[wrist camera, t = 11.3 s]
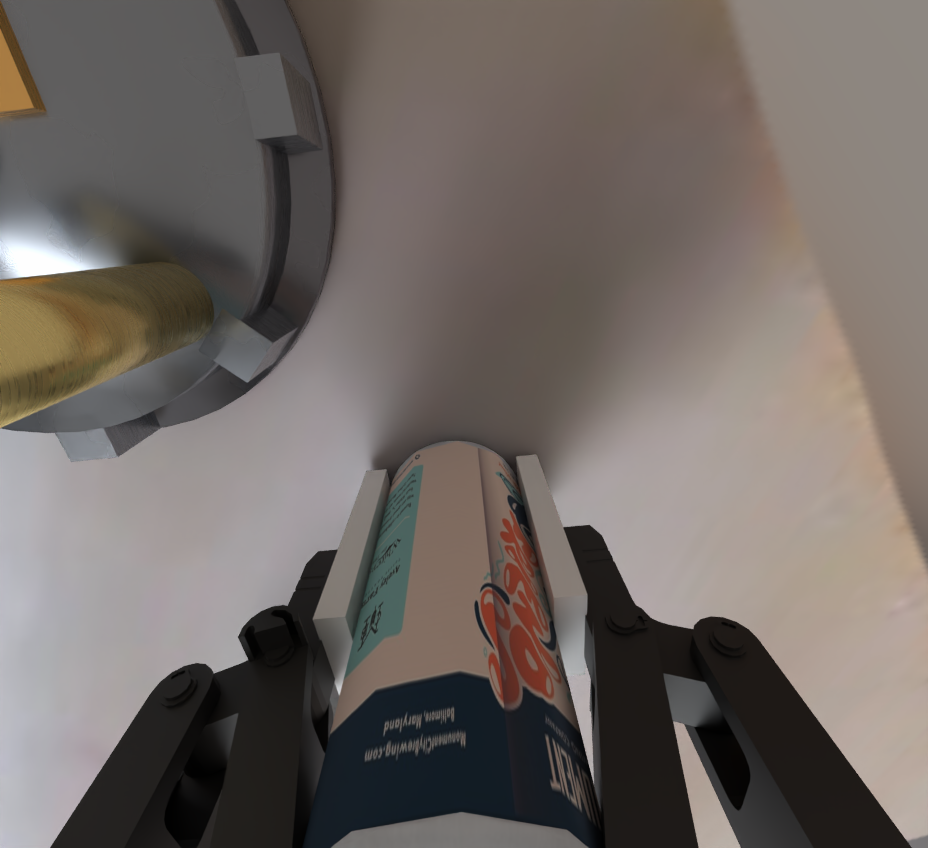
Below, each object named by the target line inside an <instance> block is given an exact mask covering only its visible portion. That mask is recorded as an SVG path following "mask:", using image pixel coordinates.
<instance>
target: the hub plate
mask: <svg viewBox="0 0 928 848" xmlns="http://www.w3.org/2000/svg"><path fill="white" fill-rule="evenodd" d="M235 1H236V3H237V5H238V7H239V9H240V11H241V13H242V15H243V17H244V19H245V21H246V23H247V25H248V27H249V29H250V31H251V33H252V36H253V38H254V41H255V43H256V46H257V48H258V51H259V53H260V55H263V54H271V53H280V54H281V55H282V56H283V57H284V58H285V59H286V60H287V61H288V62H289V63H290V64H291V65H292V66H293V67H294V68H295V69H296V70H297V71H298V72H299V73H300V74H301V75H302V76H303V77H304V78H305V79H306V80H307V81H308V82H309V83H310V86H311V91H312V96H313V101H314V106H315V111H316V116H317V121H318V126H319V131H320V136H321V141H322V146H323V150H320V151H311V152H302V153H293V154H287V155H288V160H289V170H290V186H291V202H292V204H291V221H290V238H289V244H288V249H287V255H286V260H285V265H284V270H283V274H282V277H281V280H280V283H279V286H278V289H277V291H276V294H275V297H274V300H273V302H272V304H271V306H270V307H271V308H273V309H274V310H276V311H277V312H278V313H280V314H281V315H283V316H284V317H285V318H287V319H288V320H290V321H291V322H292V323H294V324H295V325H296V326H298V328H297V330H296V331H295V333H294V334H293V336H292V337H291V339H290V340H289V342H288V343H287V345H286V346H285V348H284V349H283V351H282V352H281V354H280V356H279V357H278V359H277V360H276V362H274V363H273V364H272V365H270V366H269V367H268V368H266V369H265V370H264V371H262V372H261V373H260V374H258V375H257V376H256V377H254V378H253V379H252V380H250V381H249V382H248V383H247V382H245V381H244V380H242V379H241V378H239V377H238V376H236V375H235V374H233V373H231V372H230V371H228V370H227V369H225V368H222V369H221V370H219V371H218V372H216V373H215V374H214V375H212V376H211V377H209V378H208V379H206V380H205V381H204V382H202V383H200V384H199V385H197V386H195V387H194V388H192V389H190V390H189V391H187V392H186V393H184V394H182V395H181V396H179V397H177V398H176V399H174V400H172V401H171V402H169V403H168V404H166V405H164V406H162V407H160V408H158V409H156V410H154V413H155V415H156V417H157V420H158V422H159V424H160V427H161V428H162V427H168V426H172V425H176V424H180V423H183V422H187V421H191V420H195V419H197V418H199V417H202V416H204V415H207V414H209V413H211V412H214V411H216V410H219V409H221V408H223V407H224V406H226V405H227V404H229V403H231V402H232V401H234V400H236V399H237V398H239V397H241V396H242V395H244V394H245V393H247V392H248V391H249V390H250V389H252V388H253V387H254V386H255V385H256V384H258V383H259V382H260V381H261V380H262V379H264V378H265V377H266V376H267V375H268V374H270V373H271V372H272V371H273V370H274V369H275V368H276V367H277V365H278V364H279V363H280V362H281V361H282V360H283V358H284V357H285V356H286V355H287V354H288V353H289V351H290V350H291V349H292V348H293V346H294V345H295V343H296V341H297V340H298V338H299V337H300V335H301V333H302V332H303V330H304V329H305V327H306V325H307V324H308V322H309V319H310V317H311V315H312V312H313V310H314V308H315V306H316V303H317V301H318V299H319V296H320V294H321V291H322V287H323V283H324V280H325V276H326V272H327V269H328V265H329V262H330V255H331V248H332V241H333V234H334V226H335V174H334V164H333V154H332V144H331V136H330V132H329V127H328V122H327V118H326V113H325V108H324V104H323V99H322V94H321V90H320V87H319V84H318V81H317V78H316V75H315V71H314V68H313V65H312V62H311V59H310V56H309V53H308V50H307V47H306V44H305V41H304V38H303V36H302V34H301V31H300V29H299V27H298V25H297V22H296V20H295V18H294V15H293V13H292V11H291V9H290V6H289V4H288V2H287V0H235Z"/></svg>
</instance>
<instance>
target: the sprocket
mask: <svg viewBox="0 0 928 848" xmlns="http://www.w3.org/2000/svg"><path fill="white" fill-rule="evenodd" d="M320 150H323V146H322V141H321V136H320V131H319V126H318V121H317V116H316V111H315V106H314V101H313V96H312V91H311V86H310V83H309V82H308V81H307V80H306V79H305V78H304V77H303V76H302V75H301V74H300V73H299V72H298V71H297V70H296V69H295V68H294V67H293V66H292V65H291V64H290V63H289V62H288V61H287V60H286V59H285V58H284V57H283V56H282V55H281V54H280V53H271V54H263V55H260V53H259V51H258V48H257V46H256V43H255V41H254V38H253V36H252V33H251V31H250V29H249V27H248V25H247V23H246V21H245V19H244V17H243V15H242V13H241V11H240V9H239V7H238V5H237V3H236V1H235V0H0V428H2V429H8V430H14V431H28V432H41V433H55V434H56V436H57V438H58V439H59V441H60V443H61V445H62V447H63V448H64V450H65V452H66V454H67V456H68V457H69V459H70V461H71V462H73V461H83V460H93V459H103V458H113V457H119V456H120V455H122V454H123V453H125V452H126V451H128V450H129V449H130V448H132V447H133V446H135V445H136V444H138V443H139V442H141V441H142V440H144V439H145V438H147V437H148V436H150V435H151V434H153V433H154V432H155V431H157V430H158V429H160V428H161V427H160V424H159V422H158V420H157V417H156V415H155V413H154V410H156V409H158V408H160V407H162V406H164V405H166V404H168V403H169V402H171V401H172V400H174V399H176V398H177V397H179V396H181V395H182V394H184V393H186V392H187V391H189V390H190V389H192V388H194V387H195V386H197V385H199V384H200V383H202V382H204V381H205V380H206V379H208V378H209V377H211V376H212V375H214V374H215V373H216V372H218V371H219V370H221V369H222V368H225V369H227V370H228V371H230V372H231V373H233V374H235V375H236V376H238V377H239V378H241V379H242V380H244V381H245V382H247V383H248V382H249V381H250V380H252V379H253V378H254V377H256V376H257V375H258V374H260V373H261V372H262V371H264V370H265V369H266V368H268V367H269V366H270V365H272V364H273V363H274V362H276V360H277V359H278V357H279V356H280V354H281V352H282V351H283V349H284V348H285V346H286V345H287V343H288V342H289V340H290V339H291V337H292V336H293V334H294V333H295V331H296V330H297V328H298V326H296V325H295V324H294V323H292V322H291V321H290V320H288V319H287V318H285V317H284V316H283V315H281V314H280V313H278V312H277V311H276V310H274V309H273V308H271V307H270V306H271V304H272V302H273V300H274V297H275V294H276V291H277V289H278V286H279V283H280V280H281V277H282V274H283V270H284V265H285V260H286V255H287V249H288V244H289V238H290V221H291V204H292V202H291V186H290V170H289V160H288V155H287V154H293V153H302V152H311V151H320Z"/></svg>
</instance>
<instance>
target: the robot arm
mask: <svg viewBox="0 0 928 848" xmlns="http://www.w3.org/2000/svg"><path fill="white" fill-rule="evenodd" d="M516 465H517V481H518V484H519V488H520V492H521V496H522V500H523V504H524V508H525V512H526V516H527V520H528V524H529V528H530V532H531V536H532V540H533V544H534V548H535V552H536V556H537V560H538V564H539V568H540V572H541V576H542V580H543V584H544V588H545V592H546V596H547V600H548V604H549V608H550V612H551V616H552V620H553V624H554V628H555V632H556V636H557V640H558V644H559V648H560V652H561V656H562V660H563V664H564V668H565V672H566V676H572V675H584V674H585V668H586V665H587V668H588V671H589V674H590V678H591V689H590V711H591V718H592V741H593V765H594V788H595V792H596V796H597V800H598V804H599V808H600V812H601V825H602V838H603V848H698V843H697V838H696V833H695V828H694V823H693V818H692V813H691V808H690V803H689V798H688V793H687V788H686V783H685V779H684V774H683V769H682V764H681V759H680V754H679V749H678V744H677V739H676V734H675V729H674V724H673V721H675V722H679V723H683V724H684V725H685V727H686V729H687V731H688V734H689V736H690V738H691V740H692V742H693V744H694V747H695V749H696V751H697V753H698V755H699V757H700V760H701V762H702V764H703V766H704V768H705V770H706V773H707V775H708V777H709V779H710V781H711V784H712V786H713V788H714V790H715V792H716V794H717V797H718V799H719V801H720V803H721V805H722V807H723V810H724V812H725V814H726V816H727V818H728V820H729V823H730V825H731V827H732V829H733V831H734V833H735V836H736V838H737V840H738V842H739V844H740V846H741V848H911V846H910V845H909V843H908V842H907V841H906V839H905V838H904V837H903V835H902V834H901V833H900V831H899V830H898V828H897V827H896V826H895V824H894V823H893V822H892V820H891V819H890V818H889V816H888V815H887V814H886V812H885V811H884V809H883V808H882V807H881V805H880V804H879V803H878V801H877V800H876V799H875V797H874V796H873V794H872V793H871V792H870V790H869V789H868V788H867V786H866V785H865V784H864V782H863V781H862V780H861V778H860V777H859V775H858V774H857V773H856V771H855V770H854V769H853V767H852V766H851V765H850V763H849V762H848V761H847V759H846V758H845V756H844V755H843V754H842V752H841V751H840V750H839V748H838V747H837V746H836V744H835V743H834V741H833V740H832V739H831V737H830V736H829V735H828V733H827V732H826V731H825V729H824V728H823V727H822V725H821V724H820V722H819V721H818V720H817V718H816V717H815V716H814V714H813V713H812V712H811V710H810V709H809V708H808V706H807V705H806V703H805V702H804V701H803V699H802V698H801V697H800V695H799V694H798V693H797V691H796V690H795V688H794V687H793V686H792V684H791V683H790V682H789V680H788V679H787V678H786V676H785V675H784V674H783V672H782V671H781V669H780V668H779V667H778V665H777V664H776V663H775V661H774V660H773V659H772V657H771V656H770V655H769V653H768V652H767V650H766V649H765V648H764V646H763V645H762V644H761V642H760V641H759V640H758V639H757V637H756V636H755V635H754V634H753V633H752V632H751V631H750V630H749V629H747V628H745V627H744V626H742V625H740V624H739V623H737V622H735V621H732V620H729V619H726V618H723V617H707V618H704V619H700V620H699V621H698V622H697V623H696V624H695V625H694V629H688V628H683V627H678V626H672V625H668V624H664V623H661V622H658V621H656V620H654V619H652V618H650V617H649V616H648V615H647V614H646V613H645V612H644V610H643V609H642V608H640V607H638V606H636V605H635V603H634V601H633V600H632V598H631V596H630V594H629V591H628V589H627V587H626V585H625V583H624V581H623V579H622V577H621V575H620V573H619V571H618V568H617V566H616V564H615V562H614V561H613V558H612V556H611V554H610V552H609V551H608V548H607V545H606V543H605V541H604V539H603V537H602V535H601V534H600V533H598V532H597V531H596V530H595V529H594V528H593V527H591V526H590V525H583V526H573V527H563V526H562V523H561V520H560V517H559V515H558V512H557V509H556V506H555V504H554V501H553V498H552V495H551V493H550V490H549V487H548V484H547V481H546V479H545V476H544V473H543V470H542V468H541V465H540V462H539V459H538V457H537V454H536V455H526V456H516ZM390 489H391V487H390V482H389V478H388V473H387V469H383V470H373V471H366V474H365V476H364V479H363V482H362V485H361V488H360V490H359V493H358V496H357V499H356V501H355V504H354V507H353V510H352V512H351V515H350V518H349V521H348V523H347V526H346V529H345V532H344V534H343V537H342V540H341V543H340V545H339V548H338V550H329V551H318V552H317V553H316V554H315V555H314V556H313V558H312V559H311V560H310V561H309V562H308V563H307V564H306V566H305V568H304V571H303V573H302V575H301V577H300V578H301V579H300V580H299V582H298V584H297V586H296V591H295V592H294V593H293V596H292V598H291V600H290V602H289V605H288V606H285V605H282V606H274V607H271V608H268V609H266V610H263V611H261V612H260V613H258V614H257V615H255V616H254V617H252V618H251V619H250V620H249V621H248V622H247V623H246V625H245V626H244V627H243V628H242V630H241V632H240V634H239V636H238V638H239V640H240V642H241V644H242V647H243V649H244V651H245V653H246V655H247V657H248V661H246V662H243V663H241V664H239V665H236V666H233V667H231V668H228V669H225V670H222V671H220V672H217V673H213V671H212V669H211V668H209V667H208V666H207V665H206V664H199V663H195V664H191V665H187V666H184V667H182V668H180V669H178V670H176V671H174V672H172V673H171V674H170V675H168V676H167V677H166V678H165V679H163V680H162V681H161V682H160V683H159V684H158V685H157V686H156V688H155V689H154V690H153V691H152V692H151V694H150V695H149V697H148V698H147V700H146V701H145V703H144V705H143V706H142V708H141V709H140V711H139V712H138V714H137V715H136V717H135V718H134V720H133V721H132V723H131V724H130V726H129V728H128V729H127V731H126V732H125V734H124V735H123V737H122V738H121V740H120V741H119V743H118V744H117V746H116V747H115V749H114V751H113V752H112V754H111V755H110V757H109V758H108V760H107V761H106V763H105V764H104V766H103V767H102V769H101V771H100V772H99V774H98V775H97V777H96V778H95V780H94V781H93V783H92V784H91V786H90V787H89V789H88V790H87V792H86V794H85V795H84V797H83V798H82V800H81V801H80V803H79V804H78V806H77V807H76V809H75V810H74V812H73V814H72V815H71V817H70V818H69V820H68V821H67V823H66V824H65V826H64V827H63V829H62V830H61V832H60V833H59V835H58V837H57V838H56V840H55V841H54V843H53V844H52V846H51V847H50V848H302V846H303V842H304V838H305V834H306V830H307V826H308V822H309V818H310V814H311V810H312V806H313V802H314V797H315V793H316V789H317V785H318V781H319V777H320V773H321V769H322V765H323V761H324V757H325V753H326V749H327V745H328V741H329V737H330V732H331V728H332V724H333V709H332V705H331V702H330V697H331V693H332V689H333V685H334V682H335V685H336V688H337V691H338V694H339V695H340V692H341V688H342V684H343V680H344V676H345V672H346V667H347V663H348V659H349V655H350V651H351V647H352V643H353V639H354V635H355V631H356V627H357V623H358V619H359V615H360V611H361V607H362V602H363V598H364V594H365V590H366V586H367V582H368V578H369V574H370V570H371V566H372V562H373V558H374V554H375V550H376V546H377V542H378V537H379V533H380V529H381V525H382V521H383V517H384V513H385V509H386V505H387V501H388V497H389V493H390Z"/></svg>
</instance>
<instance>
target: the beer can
mask: <svg viewBox="0 0 928 848" xmlns="http://www.w3.org/2000/svg"><path fill="white" fill-rule="evenodd" d="M302 848H603V838H602V825H601V812H600V808H599V804H598V800H597V796H596V792H595V788H594V784H593V780H592V776H591V772H590V768H589V764H588V760H587V756H586V752H585V748H584V744H583V740H582V736H581V732H580V728H579V724H578V720H577V716H576V712H575V708H574V704H573V700H572V696H571V692H570V688H569V684H568V680H567V676H566V672H565V668H564V664H563V660H562V656H561V652H560V648H559V644H558V640H557V636H556V632H555V628H554V624H553V620H552V616H551V612H550V608H549V604H548V600H547V596H546V592H545V588H544V584H543V580H542V576H541V572H540V568H539V564H538V560H537V556H536V552H535V548H534V544H533V540H532V536H531V532H530V528H529V524H528V520H527V516H526V512H525V508H524V504H523V500H522V496H521V492H520V488H519V484H518V481H517V478H516V476H515V474H514V472H513V470H512V469H511V468H510V466H509V465H508V464H507V463H506V461H505V460H504V459H503V458H502V457H501V456H499V455H498V454H497V453H496V452H494V451H493V450H491V449H488V448H486V447H484V446H482V445H479V444H476V443H472V442H466V441H458V440H456V441H444V442H438V443H434V444H431V445H429V446H426V447H424V448H421V449H420V450H418V451H417V452H415V453H414V454H412V455H411V456H409V458H408V459H407V460H406V461H405V462H404V463H403V464H402V465H401V466H400V467H399V469H398V471H397V473H396V475H395V477H394V479H393V481H392V485H391V489H390V493H389V497H388V501H387V505H386V509H385V513H384V517H383V521H382V525H381V529H380V533H379V537H378V542H377V546H376V550H375V554H374V558H373V562H372V566H371V570H370V574H369V578H368V582H367V586H366V590H365V594H364V598H363V602H362V607H361V611H360V615H359V619H358V623H357V627H356V631H355V635H354V639H353V643H352V647H351V651H350V655H349V659H348V663H347V667H346V672H345V676H344V680H343V684H342V688H341V692H340V696H339V700H338V704H337V708H336V712H335V716H334V720H333V724H332V728H331V732H330V737H329V741H328V745H327V749H326V753H325V757H324V761H323V765H322V769H321V773H320V777H319V781H318V785H317V789H316V793H315V797H314V802H313V806H312V810H311V814H310V818H309V822H308V826H307V830H306V834H305V838H304V842H303V846H302Z"/></svg>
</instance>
